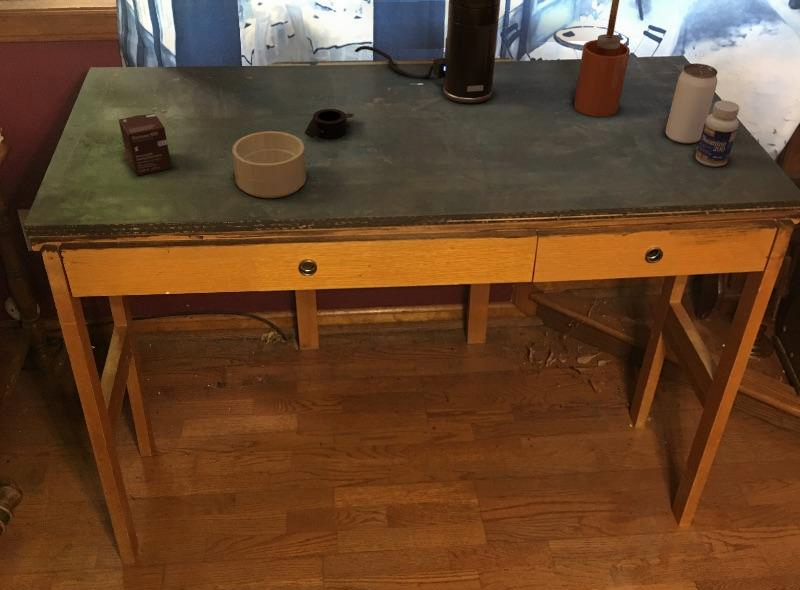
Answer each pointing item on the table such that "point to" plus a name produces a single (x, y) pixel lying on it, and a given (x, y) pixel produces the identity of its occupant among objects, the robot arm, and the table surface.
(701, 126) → the can
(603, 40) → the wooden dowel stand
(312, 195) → the table surface
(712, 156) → the pill bottle
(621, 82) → the crock
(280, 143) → the bowl
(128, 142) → the box
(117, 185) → the table surface
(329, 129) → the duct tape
